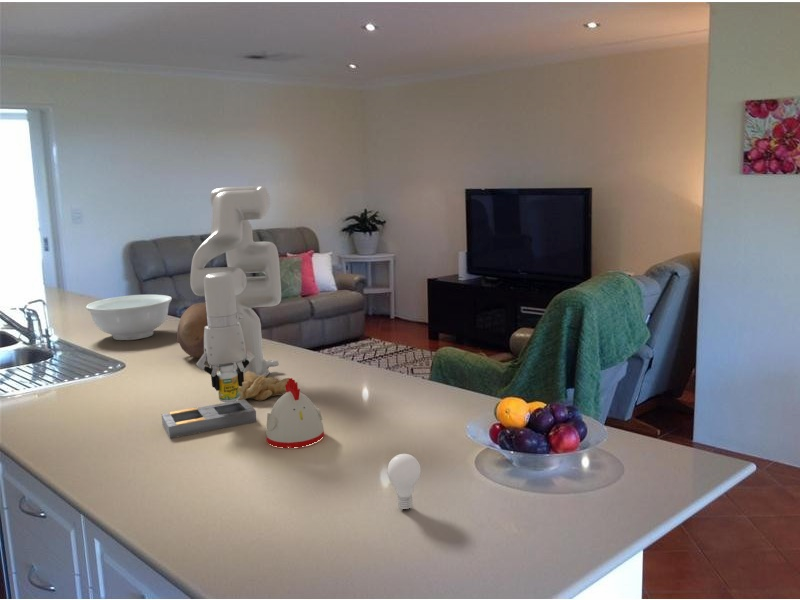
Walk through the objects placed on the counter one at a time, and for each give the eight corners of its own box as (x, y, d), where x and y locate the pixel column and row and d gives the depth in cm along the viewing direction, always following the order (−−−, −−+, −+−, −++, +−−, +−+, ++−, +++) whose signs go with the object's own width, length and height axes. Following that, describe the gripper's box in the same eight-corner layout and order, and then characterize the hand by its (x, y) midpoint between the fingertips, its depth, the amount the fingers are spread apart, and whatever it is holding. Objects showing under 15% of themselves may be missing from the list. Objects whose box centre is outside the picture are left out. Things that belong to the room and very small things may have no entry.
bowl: (103, 329, 309) (99, 295, 306) (181, 325, 312) (178, 291, 310) (79, 348, 277) (74, 310, 275) (166, 343, 281) (162, 305, 278)
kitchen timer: (277, 453, 169) (272, 391, 166) (259, 435, 181) (255, 377, 178) (332, 441, 175) (329, 381, 172) (312, 424, 187) (308, 368, 184)
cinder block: (245, 409, 200) (244, 398, 199) (256, 421, 190) (255, 409, 190) (162, 425, 190) (161, 413, 190) (169, 438, 181) (168, 426, 180)
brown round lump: (196, 367, 244) (260, 361, 269) (207, 311, 241) (270, 310, 266) (158, 349, 255) (222, 344, 280) (168, 295, 252) (232, 295, 277)
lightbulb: (387, 502, 142) (385, 449, 140) (420, 500, 143) (418, 447, 140) (390, 518, 136) (387, 462, 134) (423, 515, 136) (422, 460, 134)
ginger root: (214, 394, 210) (219, 366, 210) (260, 393, 222) (264, 367, 222) (247, 407, 199) (252, 378, 199) (294, 406, 211) (298, 378, 211)
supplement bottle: (235, 394, 196) (232, 360, 194) (243, 399, 192) (240, 364, 190) (216, 398, 193) (213, 364, 191) (223, 404, 189) (220, 368, 187)
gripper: (250, 313, 195) (256, 377, 199) (185, 322, 187) (192, 389, 191) (258, 318, 188) (264, 385, 192) (191, 328, 181) (198, 397, 185)
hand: (228, 386), depth 192 cm, fingers closed on supplement bottle, 5 cm apart
